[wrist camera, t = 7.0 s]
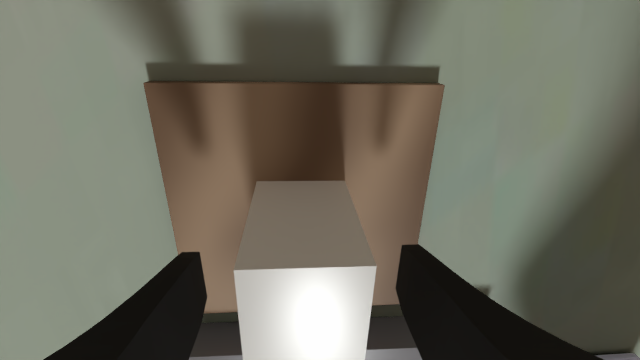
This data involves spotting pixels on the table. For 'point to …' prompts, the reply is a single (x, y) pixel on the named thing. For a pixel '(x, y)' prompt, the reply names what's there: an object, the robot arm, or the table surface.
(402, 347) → the power strip
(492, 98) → the table surface
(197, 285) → the robot arm
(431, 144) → the walnut pad
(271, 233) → the plug
